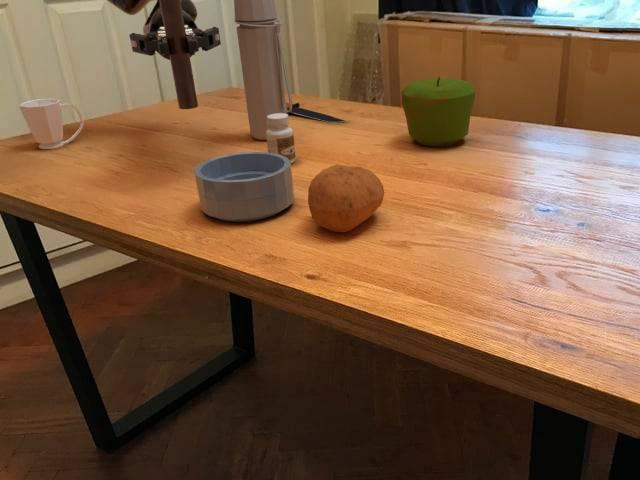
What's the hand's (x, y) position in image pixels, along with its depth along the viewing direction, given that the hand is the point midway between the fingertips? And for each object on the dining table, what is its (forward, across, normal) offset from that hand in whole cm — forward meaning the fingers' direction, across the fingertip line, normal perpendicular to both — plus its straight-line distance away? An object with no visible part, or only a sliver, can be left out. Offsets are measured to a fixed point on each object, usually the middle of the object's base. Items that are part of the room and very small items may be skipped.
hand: (179, 48), depth 92 cm
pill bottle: (-6, +14, +20) cm, 25 cm away
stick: (-3, 0, +9) cm, 9 cm away
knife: (-36, +22, +20) cm, 47 cm away
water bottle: (-22, +15, +20) cm, 33 cm away
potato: (+23, +17, +20) cm, 35 cm away
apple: (-6, +42, +20) cm, 47 cm away
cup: (-34, -24, +20) cm, 46 cm away
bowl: (+13, +5, +20) cm, 24 cm away
